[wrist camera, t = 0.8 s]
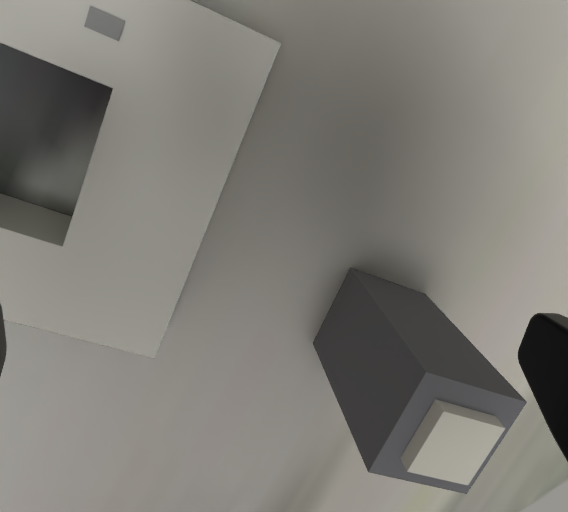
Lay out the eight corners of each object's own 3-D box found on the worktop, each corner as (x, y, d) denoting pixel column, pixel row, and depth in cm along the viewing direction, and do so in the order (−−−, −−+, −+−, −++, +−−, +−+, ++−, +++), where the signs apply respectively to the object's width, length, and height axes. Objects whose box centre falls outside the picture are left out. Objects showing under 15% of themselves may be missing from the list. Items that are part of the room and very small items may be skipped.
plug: (386, 364, 26) (474, 507, 18) (312, 343, 25) (374, 486, 17) (425, 294, 25) (538, 414, 17) (350, 267, 24) (434, 383, 16)
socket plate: (157, 320, 23) (154, 360, 20) (-236, 209, 19) (-308, 240, 16) (266, 41, 20) (281, 43, 17) (-183, -171, 15) (-264, -217, 13)
